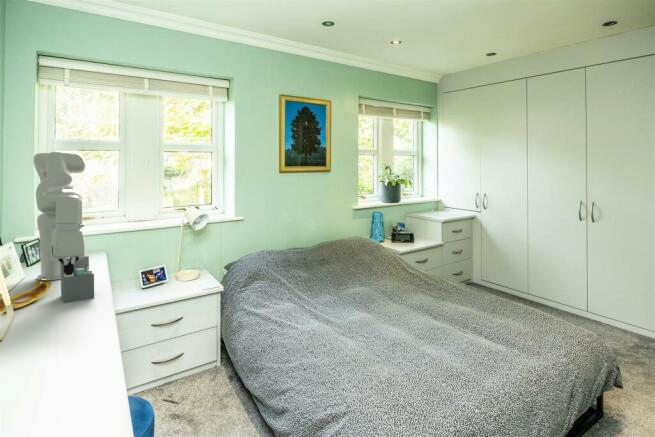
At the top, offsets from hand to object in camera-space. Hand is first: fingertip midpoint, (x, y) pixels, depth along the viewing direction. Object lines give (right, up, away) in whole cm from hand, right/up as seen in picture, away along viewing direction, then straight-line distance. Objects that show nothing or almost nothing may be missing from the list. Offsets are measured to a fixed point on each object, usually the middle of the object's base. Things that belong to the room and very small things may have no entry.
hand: (68, 274), depth 144 cm
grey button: (+5, -1, +5) cm, 7 cm away
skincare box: (-5, -10, +10) cm, 15 cm away
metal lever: (+3, 0, +6) cm, 7 cm away
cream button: (0, -3, 0) cm, 3 cm away
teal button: (+2, -2, +3) cm, 4 cm away
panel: (+1, -11, +3) cm, 11 cm away
